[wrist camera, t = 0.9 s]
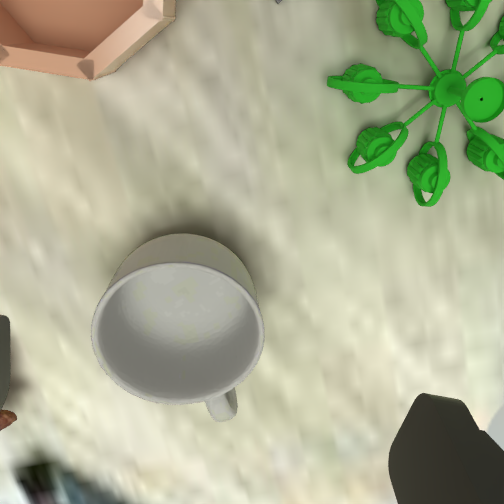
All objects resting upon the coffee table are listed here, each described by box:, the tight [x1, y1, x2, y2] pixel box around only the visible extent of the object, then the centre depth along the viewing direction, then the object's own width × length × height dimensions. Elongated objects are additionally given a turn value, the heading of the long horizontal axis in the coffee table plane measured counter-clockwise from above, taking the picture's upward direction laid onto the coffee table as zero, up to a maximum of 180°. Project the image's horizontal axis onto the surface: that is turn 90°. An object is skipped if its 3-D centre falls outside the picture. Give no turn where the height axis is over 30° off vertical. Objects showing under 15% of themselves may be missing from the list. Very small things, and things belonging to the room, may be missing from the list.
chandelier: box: [327, 0, 504, 207], centre depth 27 cm, size 15×15×7 cm
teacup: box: [91, 234, 264, 422], centre depth 33 cm, size 14×11×8 cm
